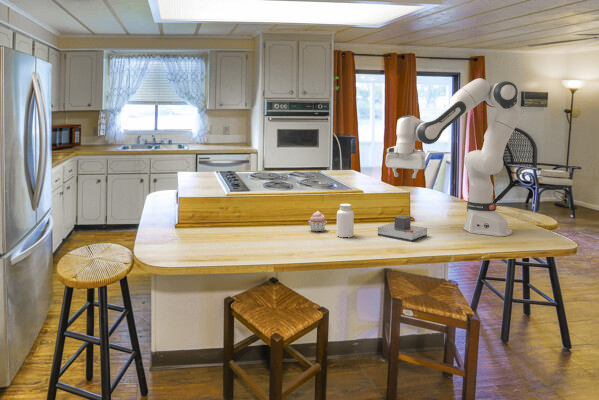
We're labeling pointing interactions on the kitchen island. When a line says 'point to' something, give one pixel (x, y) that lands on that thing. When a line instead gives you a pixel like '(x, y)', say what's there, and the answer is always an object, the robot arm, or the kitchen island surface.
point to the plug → (402, 222)
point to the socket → (402, 232)
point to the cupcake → (317, 222)
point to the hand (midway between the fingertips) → (404, 177)
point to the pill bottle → (345, 221)
